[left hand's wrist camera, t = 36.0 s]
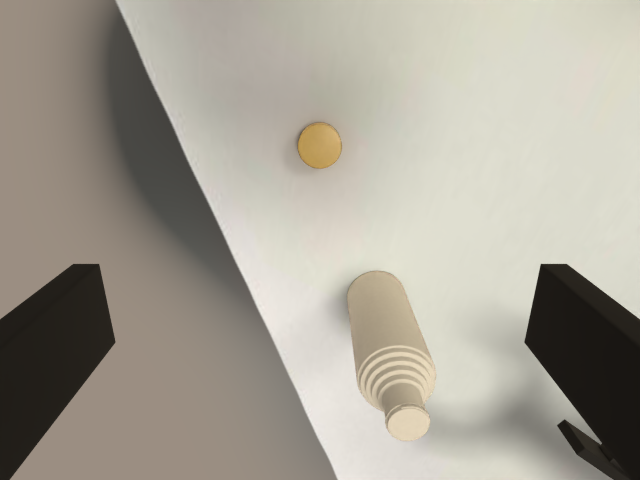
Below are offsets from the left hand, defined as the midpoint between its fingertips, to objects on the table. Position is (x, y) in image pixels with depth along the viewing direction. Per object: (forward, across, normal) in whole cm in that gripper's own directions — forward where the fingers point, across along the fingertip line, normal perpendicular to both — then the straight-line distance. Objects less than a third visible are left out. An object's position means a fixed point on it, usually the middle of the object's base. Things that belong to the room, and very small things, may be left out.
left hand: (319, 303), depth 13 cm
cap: (+31, 0, 0) cm, 31 cm away
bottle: (+33, +7, -18) cm, 38 cm away
